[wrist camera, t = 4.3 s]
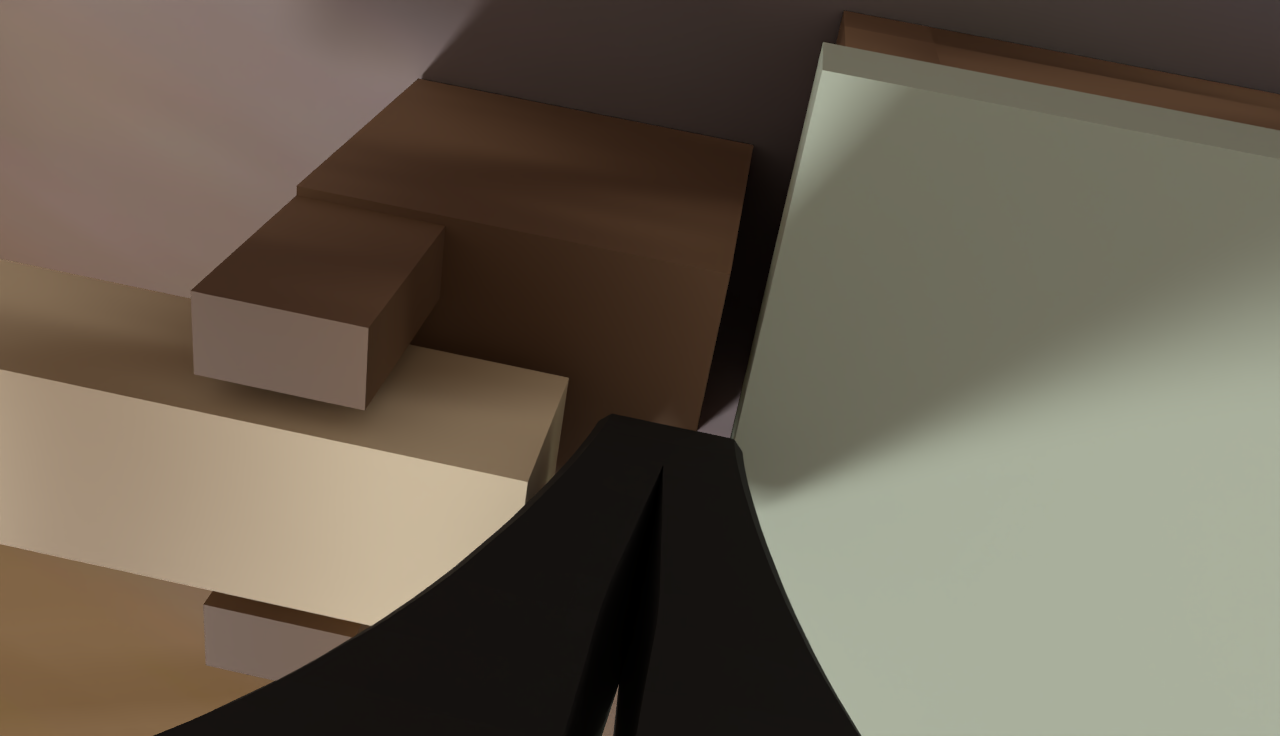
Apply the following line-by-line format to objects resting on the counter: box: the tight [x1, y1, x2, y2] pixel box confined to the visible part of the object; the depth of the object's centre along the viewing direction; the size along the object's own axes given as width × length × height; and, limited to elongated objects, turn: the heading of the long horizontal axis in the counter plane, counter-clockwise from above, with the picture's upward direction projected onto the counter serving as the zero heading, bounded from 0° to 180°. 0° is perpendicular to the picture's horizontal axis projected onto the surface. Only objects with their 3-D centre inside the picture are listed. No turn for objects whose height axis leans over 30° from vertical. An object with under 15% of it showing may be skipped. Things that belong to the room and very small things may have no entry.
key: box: [0, 259, 569, 626], centre depth 11 cm, size 7×2×2 cm, turn 81°
